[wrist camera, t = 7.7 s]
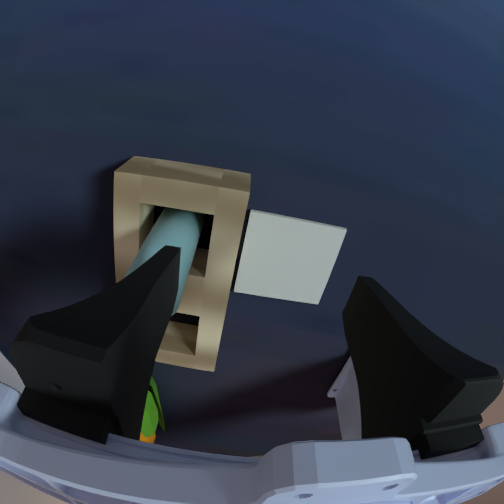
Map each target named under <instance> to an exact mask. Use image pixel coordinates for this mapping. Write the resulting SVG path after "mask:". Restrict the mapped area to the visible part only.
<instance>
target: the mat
mask: <svg viewBox="0 0 504 504" xmlns="http://www.w3.org/2000/svg"><path fill="white" fill-rule="evenodd" d="M346 231H347V229H346V228H343V227H338V226H333V225H328V224H324V223H319V222H314V221H309V220H304V219H299V218H294V217H289V216H284V215H278V214H273V213H268V212H263V211H257V210H252V209H251V211H250V216H249V221H248V225H247V230H246V235H245V239H244V244H243V249H242V254H241V258H240V263H239V268H238V273H237V277H236V282H235V287H234V292H240V293H246V294H252V295H258V296H265V297H271V298H278V299H284V300H291V301H298V302H305V303H312V304H318V303H319V301H320V299H321V296H322V294H323V291H324V289H325V286H326V284H327V281H328V279H329V276H330V274H331V271H332V268H333V266H334V263H335V261H336V258H337V255H338V253H339V250H340V247H341V245H342V242H343V239H344V236H345V234H346Z"/></svg>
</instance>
